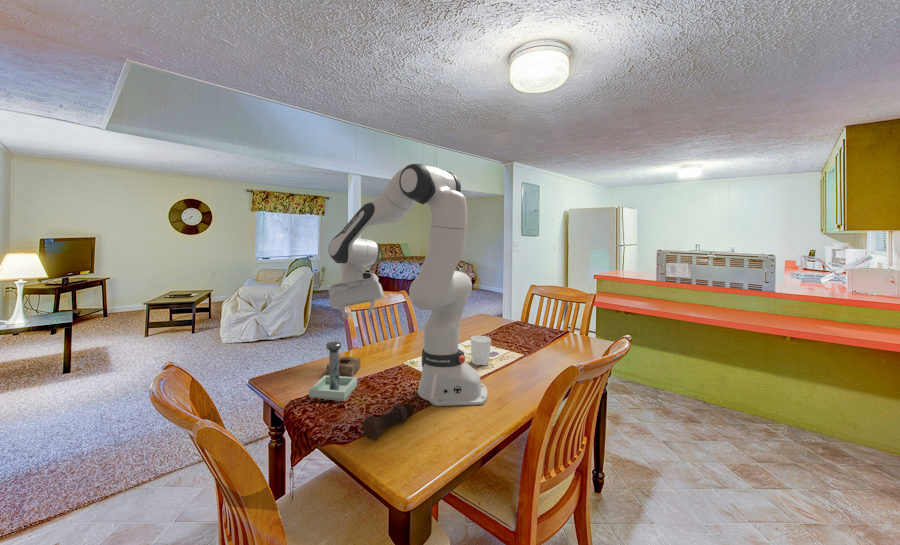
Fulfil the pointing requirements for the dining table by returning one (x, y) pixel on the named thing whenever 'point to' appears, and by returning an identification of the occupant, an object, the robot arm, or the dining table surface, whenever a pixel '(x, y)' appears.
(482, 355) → the white cup
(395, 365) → the dining table surface
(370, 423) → the bolt
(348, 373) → the socket block
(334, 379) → the pin
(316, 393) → the tray
